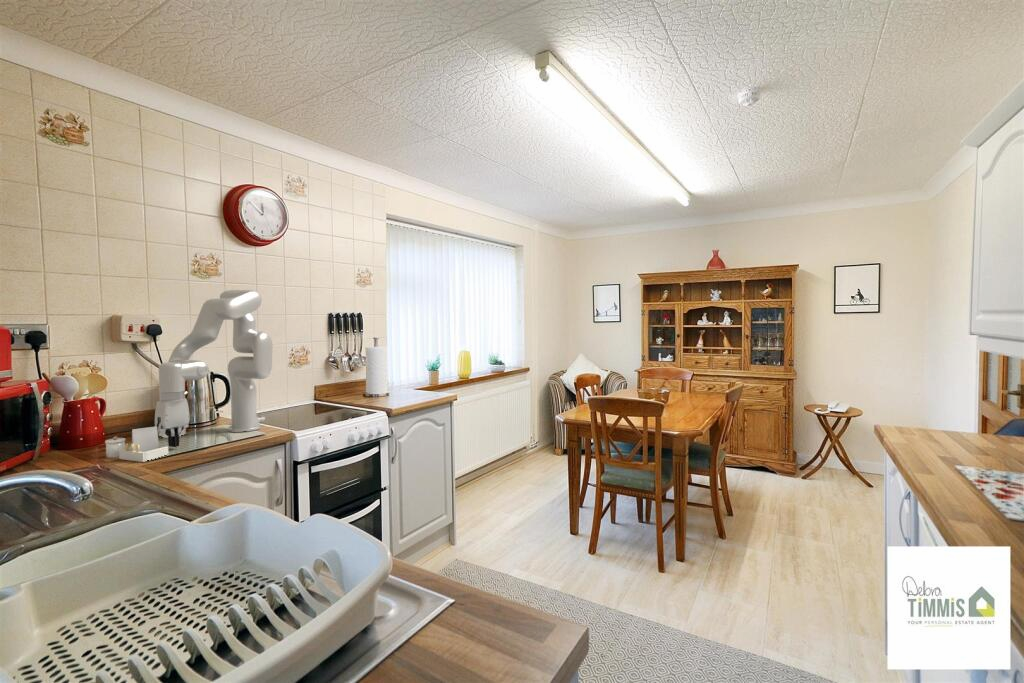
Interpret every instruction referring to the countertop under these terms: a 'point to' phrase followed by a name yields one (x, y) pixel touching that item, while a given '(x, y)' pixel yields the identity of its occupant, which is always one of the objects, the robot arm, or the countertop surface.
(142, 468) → the countertop surface
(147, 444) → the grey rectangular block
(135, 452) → the header block
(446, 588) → the countertop surface
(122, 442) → the sugar pot
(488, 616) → the countertop surface
